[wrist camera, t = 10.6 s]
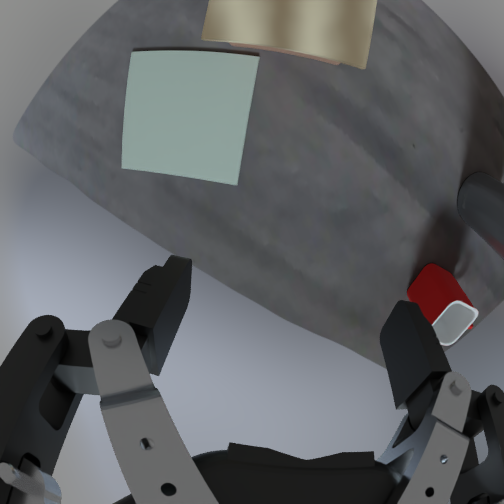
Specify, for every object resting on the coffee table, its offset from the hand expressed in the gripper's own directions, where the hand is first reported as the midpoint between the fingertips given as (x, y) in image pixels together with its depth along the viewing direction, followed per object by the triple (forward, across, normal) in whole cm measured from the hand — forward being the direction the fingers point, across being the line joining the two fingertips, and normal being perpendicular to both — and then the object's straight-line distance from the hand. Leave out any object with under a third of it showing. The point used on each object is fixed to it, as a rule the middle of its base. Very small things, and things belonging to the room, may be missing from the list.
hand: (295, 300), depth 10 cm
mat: (+30, +15, -3) cm, 34 cm away
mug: (+30, -32, +16) cm, 47 cm away
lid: (+21, +3, -20) cm, 29 cm away
